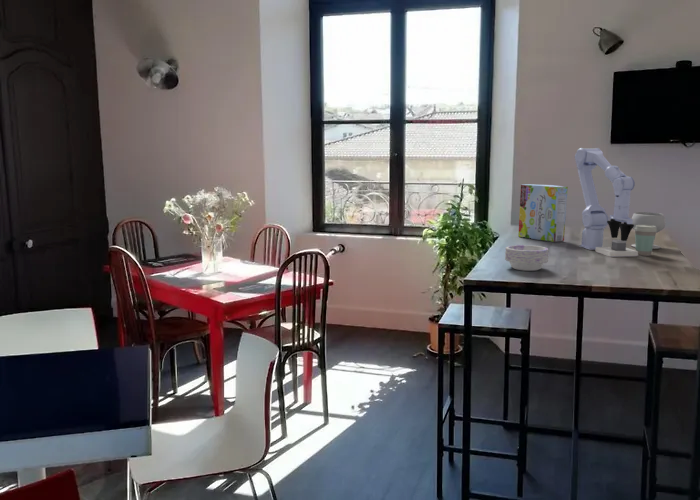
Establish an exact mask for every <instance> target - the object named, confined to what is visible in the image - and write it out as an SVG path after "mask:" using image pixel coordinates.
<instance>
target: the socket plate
mask: <svg viewBox="0 0 700 500" xmlns="http://www.w3.org/2000/svg"><path fill="white" fill-rule="evenodd" d="M611 247H612V246H602V247H596V250H595V252H596V253H598V254H601V255H604V256H607V257H609V258H610V257H611V258H612V257H614V258H615V257H618V258H619V257H638V256H639V255H638V251H636V249H632V248H628V247H626V251H615V250H611Z"/></svg>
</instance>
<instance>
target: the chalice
mask: <svg viewBox="0 0 700 500" xmlns="http://www.w3.org/2000/svg"><path fill="white" fill-rule="evenodd" d="M631 219H633V224H634V227H633V228H632V229H633V230H634V231H635V227H636V225H652V226H656V229H657V232H656V234H657V233H660V232H661V231H663V230H664V229H665V227H666V224H667V223H666V218H665V215H664V214H663V213H660V212H659V213H658V212H651V211H647V212H646V211H638V212H636V211H635V212H634V213H632V217H631ZM630 245H631V247H633V248H636V244H635V243H632V244H630ZM661 248H662V246H660V245H657V244H653V249H652V250H659V249H661Z"/></svg>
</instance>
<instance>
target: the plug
mask: <svg viewBox="0 0 700 500" xmlns="http://www.w3.org/2000/svg"><path fill="white" fill-rule="evenodd" d="M610 247H611V250H615V251H626V248H627V241H621V239H611V246H610Z"/></svg>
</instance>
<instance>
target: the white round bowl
mask: <svg viewBox="0 0 700 500" xmlns="http://www.w3.org/2000/svg"><path fill="white" fill-rule="evenodd" d="M504 253H505V255H504V260H505V261H506V262H509V264H510V267H511V268H512V269H513V270H517V271H525V272H527V271H528V272H533V271H539V270H541V269H542V267H543V266H544V264H547V263H548V262H549V248H548V247H545V246H540V245H531V244H530V245H527V244H526V245H525V244H522V245H521V244H517V245H515V244H514V245H508V246H505V252H504Z"/></svg>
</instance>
